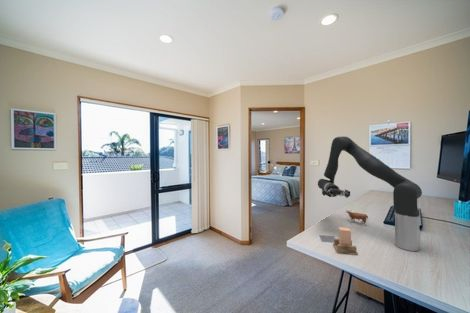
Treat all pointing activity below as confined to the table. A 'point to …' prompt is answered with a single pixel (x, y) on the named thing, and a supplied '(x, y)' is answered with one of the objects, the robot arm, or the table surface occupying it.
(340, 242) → the tall salmon pink block
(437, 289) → the table surface
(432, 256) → the table surface
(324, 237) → the rubber mat
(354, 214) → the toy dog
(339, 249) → the slotted rack
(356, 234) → the table surface
